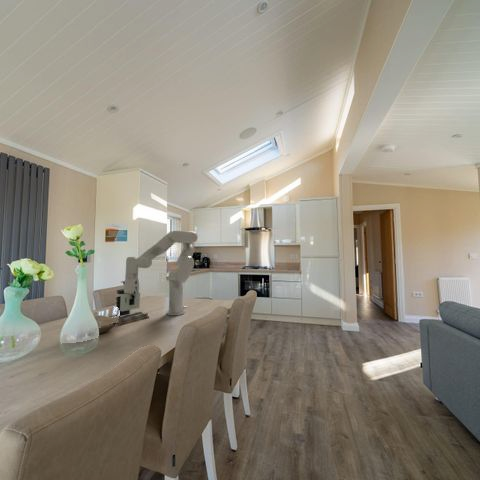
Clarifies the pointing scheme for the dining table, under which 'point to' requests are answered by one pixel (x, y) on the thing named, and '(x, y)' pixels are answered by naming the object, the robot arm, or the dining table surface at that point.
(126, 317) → the door track
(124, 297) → the door panel
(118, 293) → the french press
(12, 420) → the dining table surface
